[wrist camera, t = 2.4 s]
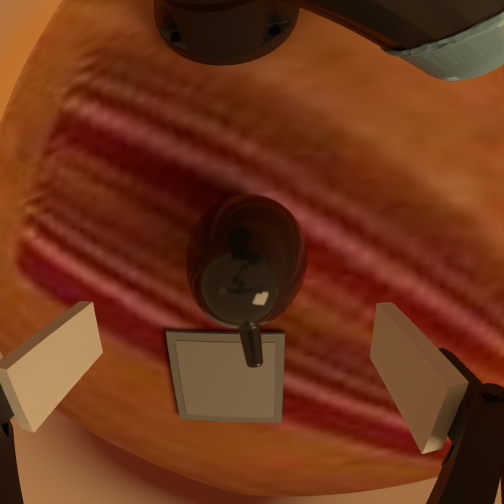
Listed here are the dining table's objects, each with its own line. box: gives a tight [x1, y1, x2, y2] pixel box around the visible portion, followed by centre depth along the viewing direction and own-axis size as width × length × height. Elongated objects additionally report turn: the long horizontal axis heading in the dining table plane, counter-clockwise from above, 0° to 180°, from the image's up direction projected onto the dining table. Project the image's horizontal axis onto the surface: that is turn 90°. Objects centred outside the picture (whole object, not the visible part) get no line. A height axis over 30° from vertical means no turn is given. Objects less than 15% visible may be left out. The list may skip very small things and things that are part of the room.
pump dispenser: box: [186, 194, 308, 368], centre depth 25 cm, size 10×10×15 cm
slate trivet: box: [166, 330, 285, 422], centre depth 35 cm, size 13×13×1 cm
